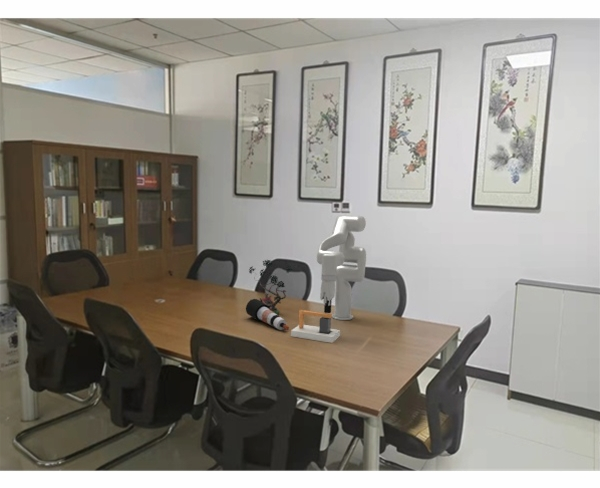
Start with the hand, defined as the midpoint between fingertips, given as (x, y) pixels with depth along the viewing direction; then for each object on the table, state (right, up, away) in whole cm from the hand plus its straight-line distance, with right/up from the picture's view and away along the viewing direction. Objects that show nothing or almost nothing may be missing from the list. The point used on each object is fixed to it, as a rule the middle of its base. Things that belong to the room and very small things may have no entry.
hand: (327, 312), depth 240 cm
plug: (-2, -12, -4) cm, 13 cm away
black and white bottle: (-31, -10, +19) cm, 38 cm away
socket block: (-6, -13, -2) cm, 14 cm away
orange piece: (-7, -8, -3) cm, 11 cm away
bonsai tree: (-36, -6, +46) cm, 59 cm away
